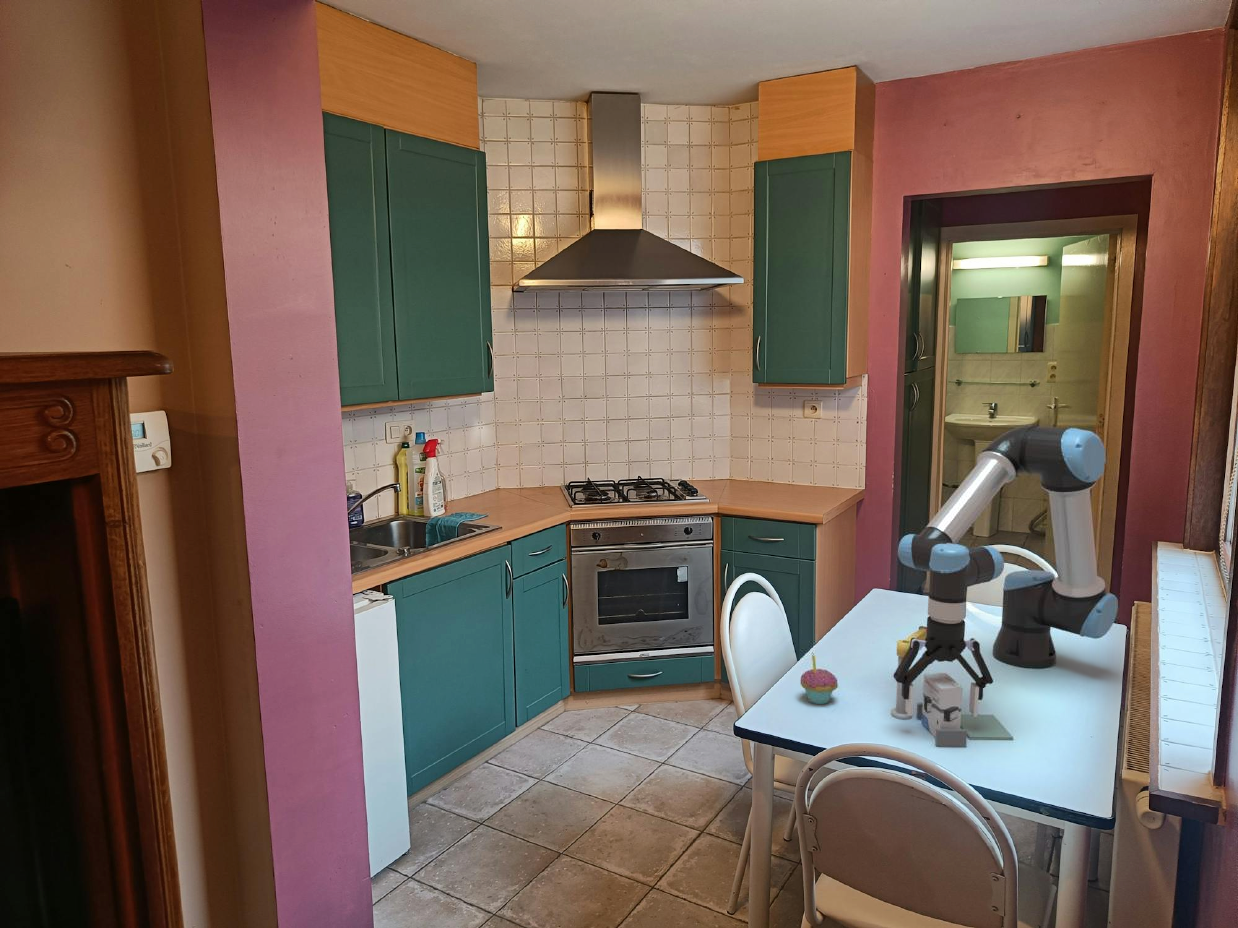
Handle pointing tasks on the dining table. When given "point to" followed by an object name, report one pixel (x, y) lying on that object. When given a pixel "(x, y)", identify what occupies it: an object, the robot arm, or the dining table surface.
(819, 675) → the cupcake
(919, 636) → the yellow long bar
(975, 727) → the mat
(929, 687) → the ink box
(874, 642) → the dining table surface
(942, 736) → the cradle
